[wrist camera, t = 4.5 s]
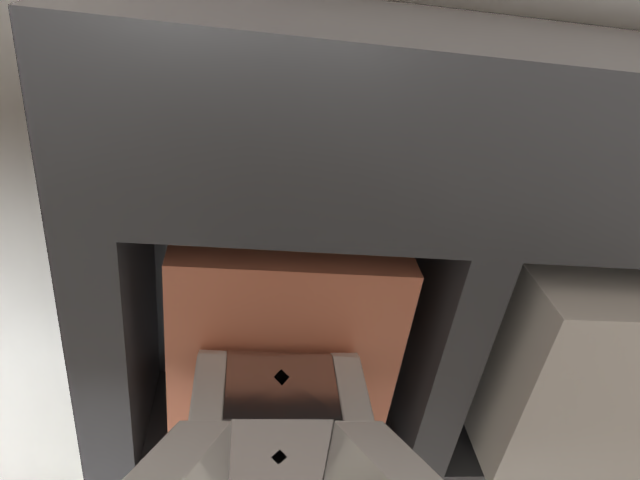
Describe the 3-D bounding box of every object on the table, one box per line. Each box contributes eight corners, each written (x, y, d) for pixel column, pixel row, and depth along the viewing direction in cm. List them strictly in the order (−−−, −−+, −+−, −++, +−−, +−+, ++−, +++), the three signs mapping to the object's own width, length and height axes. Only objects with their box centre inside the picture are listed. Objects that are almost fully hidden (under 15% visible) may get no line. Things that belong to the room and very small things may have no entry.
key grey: (723, 270, 11) (797, 328, 9) (633, 419, 13) (682, 486, 12) (519, 259, 10) (564, 319, 9) (461, 418, 13) (488, 488, 11)
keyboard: (972, 70, 14) (1300, 144, 9) (730, 407, 20) (861, 545, 15) (109, -33, 11) (8, 5, 6) (139, 400, 17) (98, 567, 12)
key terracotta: (401, 226, 11) (424, 278, 9) (365, 384, 13) (379, 446, 12) (176, 213, 10) (162, 265, 9) (179, 381, 13) (167, 445, 11)
